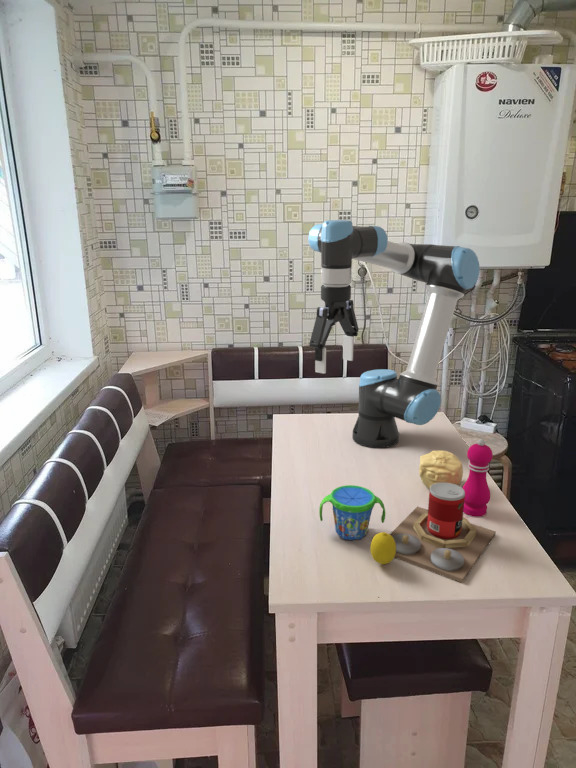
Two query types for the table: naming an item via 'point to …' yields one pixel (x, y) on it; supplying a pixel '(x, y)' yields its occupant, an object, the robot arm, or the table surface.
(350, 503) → the snack cup
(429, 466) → the sculpture
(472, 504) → the pepper mill
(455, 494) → the canned food
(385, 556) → the lemon
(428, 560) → the board
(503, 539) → the table surface
